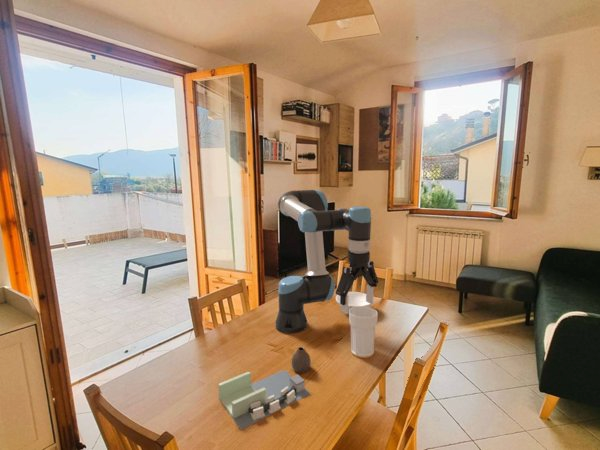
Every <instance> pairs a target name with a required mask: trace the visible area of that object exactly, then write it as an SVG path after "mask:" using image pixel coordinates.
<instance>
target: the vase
mask: <svg viewBox="0 0 600 450" xmlns="http://www.w3.org/2000/svg"><path fill="white" fill-rule="evenodd" d="M291 366H292V369H293V371H294V372H295V373H298V374H304V373H306V372H308V371H309V370H310V367H311V357H310V355H309V353H308V352H307V351H306V349H305V348H304V347H302V346H299V347H297V350H296V351H295V352H294V353H293V355H292V359H291Z"/></svg>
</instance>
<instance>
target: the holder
mask: <svg viewBox="0 0 600 450" xmlns="http://www.w3.org/2000/svg"><path fill="white" fill-rule="evenodd" d="M251 376H252V375H251V372H250V371H246V372H244V373H242V374H239V375H237V376H234V377H232V378H229V379H227V380H225V381H222V382H220V383H218V399H219V398H220V399H219V400H221V401H222V402H221V401H220V402H221V403H223V404H224V405H223V404H222V405H223V406H224V408H225V407H226V408H225V409H226V411H227V410H228V411H229V412H228V411H227V412H228V413H230V414H231V415H230V414H229V415H230V417H231V418H232V417H233V418H232V419H233V421H234V420H235V419H237V418H239V417H241V416H243V415H245V414H247V413H249V408H250V404H251V403H254V402H257V401H260V402H261V406H263V405H265V399H266V389H265V388H261V389H259V390H257V391H256V390H255V389H254V388H253V387H252V386H251V384H252V377H251Z"/></svg>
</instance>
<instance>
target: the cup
mask: <svg viewBox="0 0 600 450" xmlns="http://www.w3.org/2000/svg"><path fill="white" fill-rule="evenodd" d="M378 316H379V313H378V311H377V310H376V308H373V307H371V306H370V307H366V306H356V307H353V308H351V309H350V310H349V312H348V322H349V324H350V353H351V355H353V356H354V358H355V357H356V358H358V359H363V358H364V359H365V358H366V359H370V358H372V357H373V356H374V353H375V352H374V351H375V349H374V348H375V333H376V326H377V325H378ZM366 359H365V360H366Z"/></svg>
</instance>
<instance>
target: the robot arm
mask: <svg viewBox="0 0 600 450" xmlns="http://www.w3.org/2000/svg"><path fill="white" fill-rule="evenodd" d="M328 207H329V203H328V199H327V196H326V195H325V193H324V191H322V190H319V189H304V190H290V191H287V192H285V193H283V194H282V195H281V196H280V197H279V200H278V202H277V208H278V210H279V212H280V213H281V214H282V215H284V216H286V217H290V218H292V219H294V221H296V222H297V225H298V228H299V231H300V232H302V233H304V238H305V251H306V262H307V263H306V264H307V272H306V273H305V274H304V277H305V278H304V277H303V276H300V275H290V276H286V277H283V278H282V279H281V280H279V282H278V291H277V293H278V311H277V316H276V320H275V329H276V330H277V331H279V332H281V333H284V334H297V333H301V332H304V331H306V329H307V328H308V319H307V316H306V313H305V309H304V305H307V304H308V305H309V304H313V303H319V302H320V303H324V302H326V301H330V300H331V299H333V297H334V295H335V294H336V296H337V295H340V304H341V306H340V313H343V314H344V315H349V312H348V296H347V294H348V292H350V291H351V290H350V289H351V288H352V286H353V285H354V282H355V281H356V280H357V278H360V277H363V279H364V280H365V282H366V283H367V285H366V291H365V292H366V293H365V294H366V302H368V303H370V304H372V305H373V304H374V293H375V288H376V287H378V284H379V279H378V275H377V273H376V269H375V267H374V264H375V263H374V261H372V260H370V258H371V256H370V255H371V254H370V249H371V248H370V247H371V231H372V210H371V208H370V207H367V206H361V205H359V206H351V207H350V208H341V207H340V208H337V209H332V210H328ZM331 231H348V241H347V242H348V245H347V250H349V251H348V253H347V261H348V263H349V266H343V267H342V273H341V277H340V279H339V281H338V284H337V288H336V286H335V281H334V278H333V277H332V275H330V272H329V271H328V270H327V268H326V259H325V248H324V247H325V246H324V235H323V232H331ZM335 289H336V290H335Z"/></svg>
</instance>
